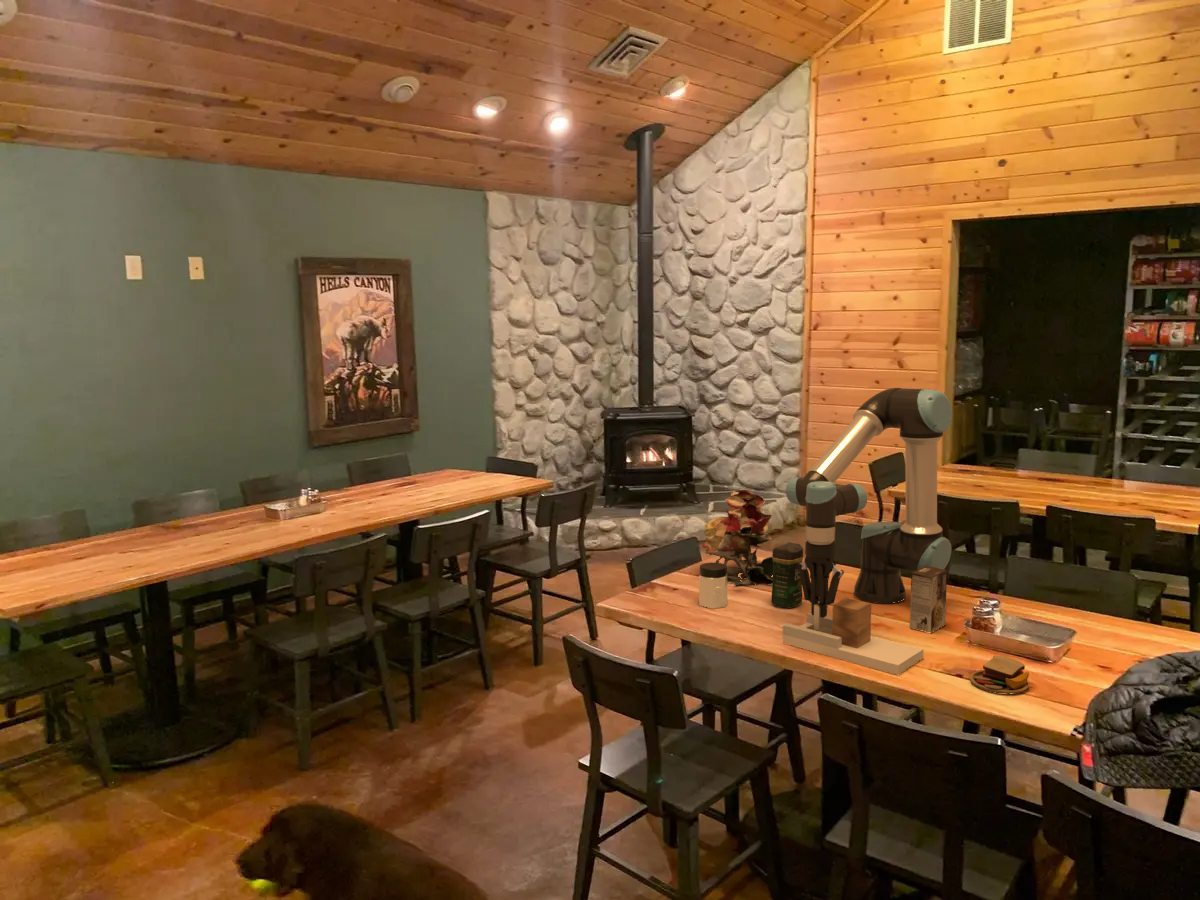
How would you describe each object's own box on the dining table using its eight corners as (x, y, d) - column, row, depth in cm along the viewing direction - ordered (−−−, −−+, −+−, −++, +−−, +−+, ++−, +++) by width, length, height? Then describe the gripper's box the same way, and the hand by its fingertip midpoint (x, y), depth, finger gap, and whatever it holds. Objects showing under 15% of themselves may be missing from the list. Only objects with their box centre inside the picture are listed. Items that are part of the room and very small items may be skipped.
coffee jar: (791, 610, 255) (791, 549, 252) (767, 605, 260) (767, 545, 257) (806, 602, 262) (807, 543, 260) (783, 597, 267) (784, 539, 265)
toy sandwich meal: (957, 682, 203) (958, 663, 202) (993, 669, 210) (994, 650, 209) (1007, 701, 192) (1008, 681, 192) (1042, 687, 199) (1043, 667, 199)
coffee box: (923, 620, 244) (925, 565, 242) (946, 625, 240) (948, 569, 238) (908, 628, 238) (910, 572, 236) (931, 634, 234) (933, 576, 231)
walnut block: (870, 640, 223) (871, 603, 221) (857, 648, 218) (858, 610, 216) (845, 634, 228) (846, 598, 226) (832, 641, 223) (832, 604, 221)
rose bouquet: (767, 563, 306) (767, 480, 302) (791, 587, 277) (792, 496, 273) (695, 566, 305) (695, 482, 300) (712, 591, 276) (711, 498, 271)
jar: (703, 610, 257) (703, 570, 256) (694, 601, 265) (694, 563, 264) (732, 607, 259) (732, 568, 258) (722, 599, 267) (722, 561, 266)
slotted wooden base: (923, 658, 217) (923, 639, 216) (898, 675, 207) (898, 655, 206) (810, 629, 239) (810, 612, 238) (782, 643, 229) (782, 625, 228)
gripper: (850, 542, 224) (848, 629, 227) (805, 534, 233) (804, 619, 236) (835, 548, 218) (833, 637, 222) (790, 539, 228) (789, 626, 231)
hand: (818, 627), depth 229 cm, fingers closed
